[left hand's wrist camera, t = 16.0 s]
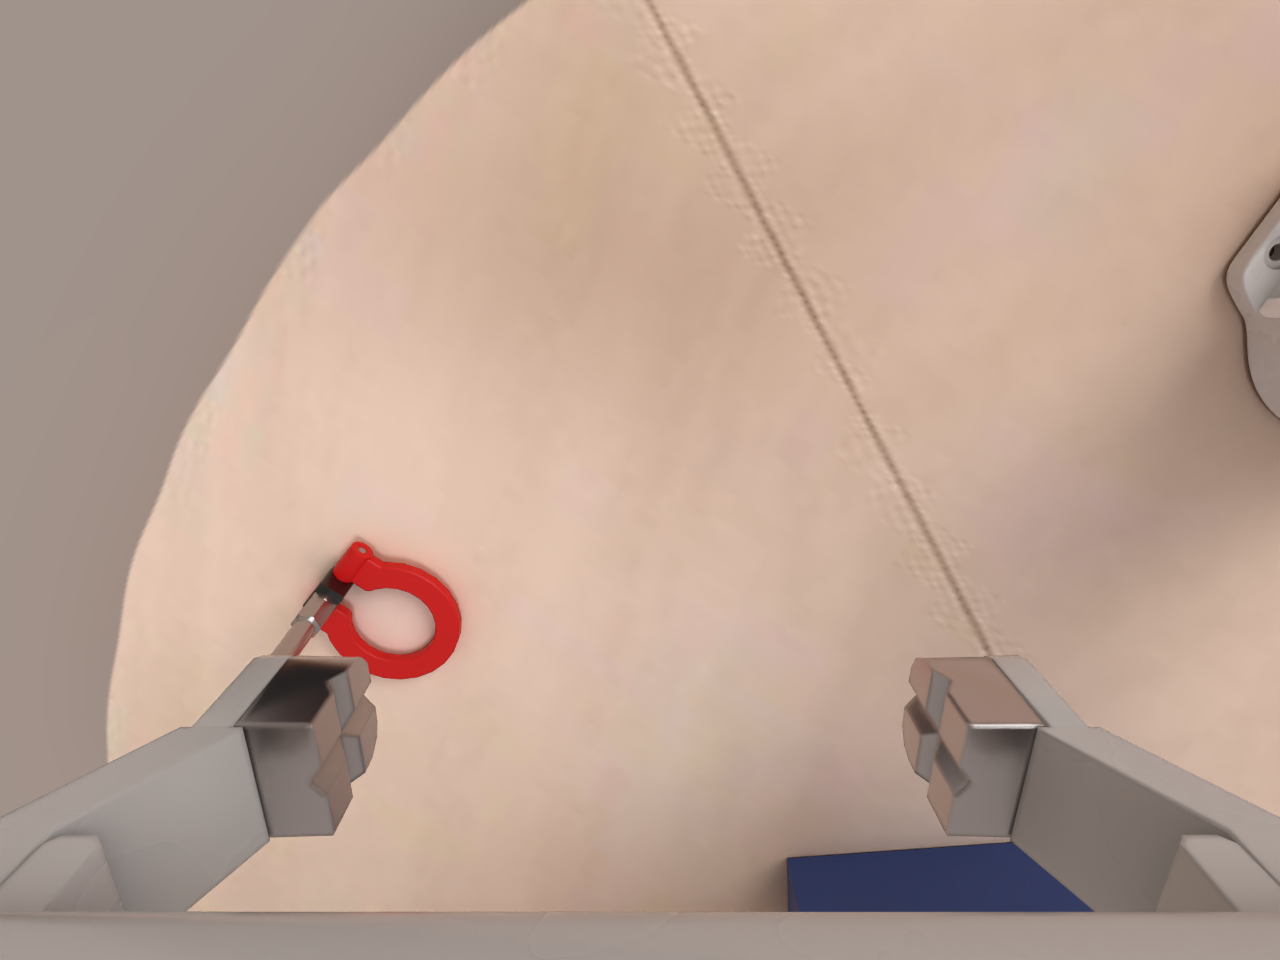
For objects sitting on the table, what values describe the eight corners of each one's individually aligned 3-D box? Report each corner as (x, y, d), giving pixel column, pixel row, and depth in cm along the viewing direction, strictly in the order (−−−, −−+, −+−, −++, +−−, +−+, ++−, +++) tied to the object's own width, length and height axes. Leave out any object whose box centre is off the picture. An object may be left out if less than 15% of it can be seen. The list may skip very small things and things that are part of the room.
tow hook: (488, 607, 45) (364, 526, 42) (442, 757, 33) (265, 655, 30) (416, 689, 47) (294, 616, 45) (348, 857, 35) (176, 770, 33)
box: (1165, 831, 51) (1292, 977, 41) (1151, 890, 53) (1269, 1043, 43) (786, 857, 52) (821, 1007, 42) (788, 915, 54) (821, 1070, 44)
